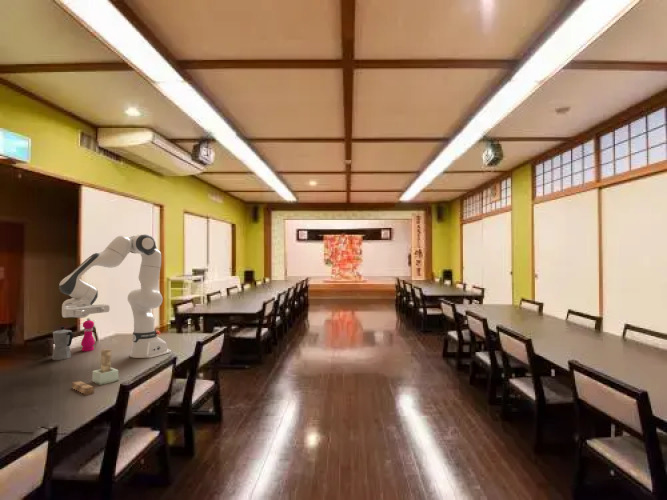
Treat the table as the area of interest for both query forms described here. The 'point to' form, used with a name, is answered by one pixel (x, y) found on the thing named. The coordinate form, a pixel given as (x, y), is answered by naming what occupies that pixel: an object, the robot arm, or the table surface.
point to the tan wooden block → (105, 360)
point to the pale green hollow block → (105, 376)
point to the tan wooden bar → (82, 387)
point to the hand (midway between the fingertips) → (93, 311)
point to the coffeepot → (62, 344)
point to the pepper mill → (88, 336)
